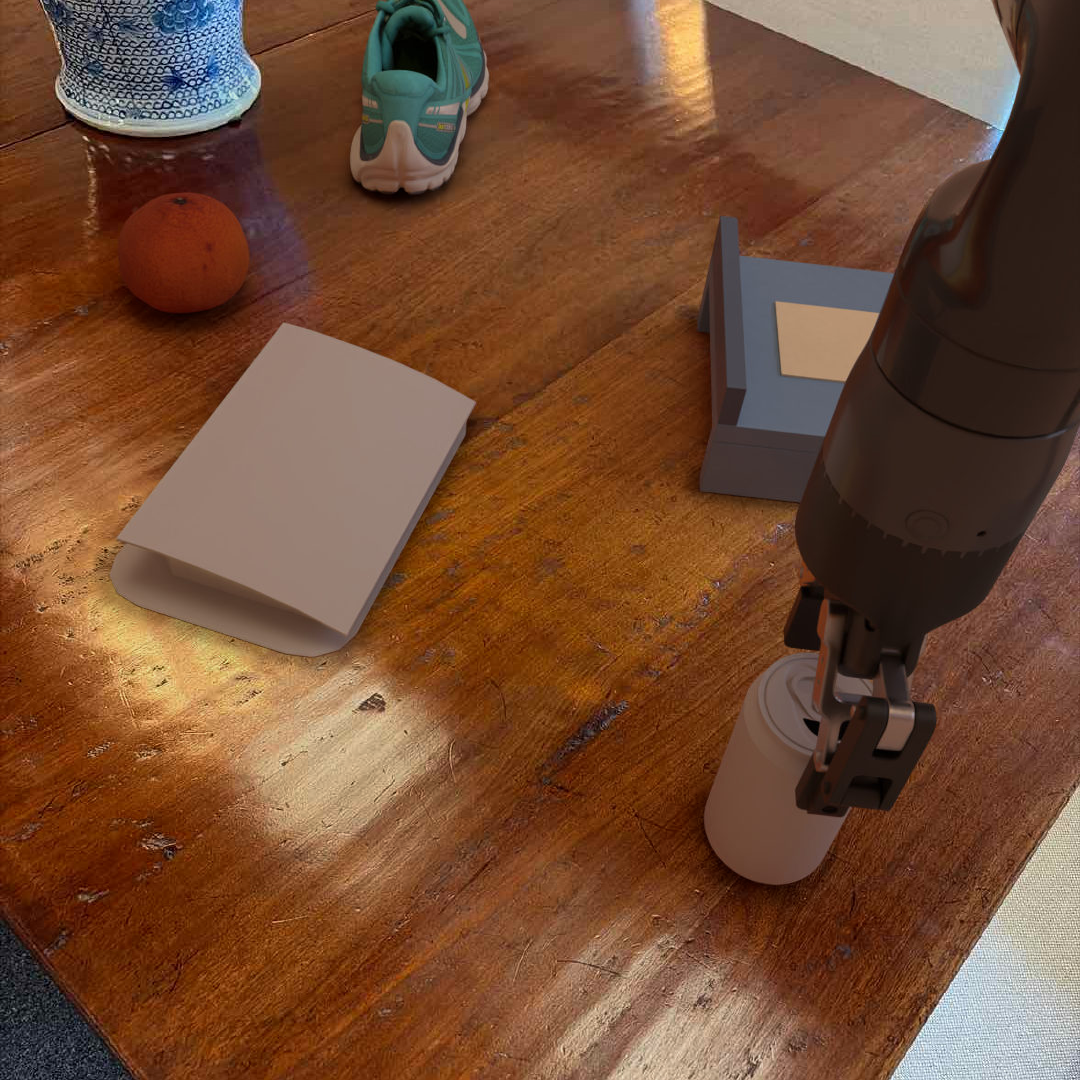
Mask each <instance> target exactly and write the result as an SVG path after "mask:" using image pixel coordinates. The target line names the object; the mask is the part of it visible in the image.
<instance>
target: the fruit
mask: <svg viewBox="0 0 1080 1080" xmlns="http://www.w3.org/2000/svg"><path fill="white" fill-rule="evenodd" d="M240 223H241V222H239V220H238V219H237V217H236V215H235V214H234V213H233V211H232V210H231V209H230V208H228V206H226V205H225V204H224V203H223V202H221V201H219V200H217V199H215V198H214V197H212V196H209V195H206V194H204V193H203V194H202V193H198V192H188V191H187V192H175V193H168V194H161V195H160V196H157V197H155V198H153V199H151V200H149V201H147V202H146V203H144V204H143V205H142V206H141V207H140V208H138V209H137V210H135V211H134V212H133V213H131V215H130V216H129V217H128V218H127V220H126V221H125V223H124V224H123V226H122V228H121V231H120V233H119V237H118V245H117V259H118V266H119V267H118V268H119V272H120V276H121V279H122V280H123V282H124V284H125V285H126V287H127V289H128V290H129V291H130V293H132V294H133V295H134V296H135V297H136V298H137V299H139V300H141V301H142V302H144V303H145V304H146V305H148V306H149V307H151V308H153V309H155V310H158V311H161V312H164V313H171V314H174V313H175V314H189V313H199V312H203V311H208V310H211V309H215V308H216V307H219V306H221V305H223V304H225V303H226V302H228V301H229V300H231V299H232V298H233V297H234V296H235V295H236V294H237V293H238V291H240V290H241V287H242V286H243V284H244V282H245V280H246V277H247V274H248V270H249V265H250V249H249V244H248V240H247V237H246V235H245V233H244V230H243V227H242V225H241V224H240Z"/></svg>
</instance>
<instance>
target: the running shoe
mask: <svg viewBox="0 0 1080 1080" xmlns="http://www.w3.org/2000/svg"><path fill="white" fill-rule="evenodd" d="M375 11H376V12H377V15H376V16H375V19H374V22H373V25H372V28H371V29H370V32H369V35H368V40H367V41H366V42H367V43H366V46H365V50H364V54H363V55H364V56H363V61H362V67H361V76H360V81H361V86H362V95H361V98H362V99H361V101H362V112H361V113H362V114H361V125H360V126H359V127H358V129H357V130H356V132H355V134H354V136H353V137H352V142H351V146H350V152H349V153H350V154H349V165H350V172H351V175H352V177H353V179H354V181H355V183H356V184H358V185H362V187H363V188H364V190H366V191H369V192H371V193H372V192H373V193H380V194H382V195H394V194H395V193H396V192H398V191H399V189H400V188H403V189H404V191H405V192H406V193H407V194H408V195H409V196H414V195H422V194H424V193H430V192H431V193H432V192H434V191H436V190H439V189H440V188H441V186H442V185H445V184H447V183H448V181H449V179H451V177H452V176H453V174H454V171H455V167H456V165H457V163H458V158H459V148H460V144H461V143H462V141H463V140H464V138H465V134H466V130H467V118H468V116H470V115H471V114H473V113H474V112H475V111H476V110H477V109H478V108H479V106H480V105H481V102H482V100H483V99H484V98H485V97H486V96H487V93H488V90H489V80H490V73H489V69H488V67H487V63H488V58H487V54H486V51H485V50H484V47H483V44H482V42H481V38H480V36H479V33H478V30H477V28H476V26H475V23H474V20H473V18H472V16H471V13H470V12H469V10H468V7H467V6H466V4H465V2H464V0H377V1H376V4H375Z"/></svg>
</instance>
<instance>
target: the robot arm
mask: <svg viewBox="0 0 1080 1080" xmlns="http://www.w3.org/2000/svg"><path fill="white" fill-rule="evenodd" d="M991 4H992V6H993V10H994V12H995V15H996V17H997V21H998V23H999V26H1000V28H1001V30H1002V33H1003V35H1004V37H1005V40H1006V42H1007V45H1008V48H1009V50H1010V53H1011V55H1012V58H1013V61H1014V63H1015V66H1016V68H1017V71H1018V74H1019V81H1018V84H1017V88H1016V89H1017V90H1016V93H1015V97H1014V101H1013V104H1012V107H1011V111H1010V113H1009V116H1008V120H1007V122H1006V124H1005V127H1004V129H1003V132H1002V134H1001V136H1000V139H999V141H998V143H997V145H996V148H995V149H994V151H993V153H992V156H991V157H990V158H988V159H984V160H981V161H978V162H975V163H971V164H969V165H967V166H965V167H963V168H961V169H959V170H957V171H956V172H954V173H952V174H951V175H949V176H948V177H947V178H946V179H945V180H944V181H943V182H942V183H940V185H938V186H937V187H936V188H935V189H934V191H933V193H932V194H931V196H929V198H928V200H927V201H926V202H925V204H924V206H923V207H922V209H921V210H920V211H919V214H918V216H917V218H916V220H915V222H914V224H913V226H912V228H911V230H910V232H909V234H908V237H907V239H906V242H905V244H904V246H903V249H902V252H901V254H900V255H899V259H898V263H897V266H896V268H895V270H894V272H893V273H894V276H893V278H892V281H891V284H890V286H889V289H888V292H887V294H886V297H885V300H884V302H883V305H882V308H881V310H880V313H879V316H878V318H877V321H876V324H875V326H874V328H873V330H872V333H871V335H870V337H869V339H868V341H867V343H866V345H865V347H864V348H863V350H862V352H861V353H860V355H859V357H858V358H857V360H856V362H855V364H854V365H853V367H852V369H851V371H850V373H849V375H848V377H847V380H846V382H845V384H844V387H843V389H842V391H841V394H840V397H839V399H838V402H837V405H836V408H835V410H834V413H833V416H832V418H831V421H830V424H829V427H828V429H827V432H826V435H825V437H824V440H823V443H822V446H821V448H820V451H819V454H818V457H817V459H816V462H815V465H814V467H813V470H812V473H811V475H810V478H809V481H808V483H807V486H806V489H805V491H804V494H803V497H802V500H801V502H800V503H799V505H798V508H797V511H796V515H795V520H794V521H795V522H794V534H795V541H796V547H797V548H798V552H799V554H800V558H801V559H802V561H801V563H800V566H799V567H798V569H797V578H798V583H799V586H800V587H799V589H798V592H797V594H796V597H795V598H794V601H793V604H792V607H791V609H790V612H789V614H788V616H787V619H786V622H785V623H784V627H783V630H782V633H783V644H784V645H785V646H786V647H787V648H790V649H796V650H805V651H813V652H818V653H819V658H818V664H817V670H816V676H815V682H814V687H813V693H812V701H813V704H814V705H815V707H816V708H817V710H818V711H819V713H820V714H821V721H820V727H819V733H818V738H817V744H816V749H815V750H814V752H813V754H812V756H811V758H810V760H809V762H808V764H807V766H806V768H805V770H804V772H803V774H802V776H801V778H800V780H799V782H798V784H797V786H796V788H795V798H796V806H797V807H798V808H799V809H801V810H807V814H814V815H823V816H831V817H840V818H841V817H843V816H845V814H846V812H847V811H848V809H849V807H852V808H858V809H865V810H874V811H881V812H882V811H883V812H890V811H891V810H892V809H893V807H894V805H895V804H896V802H897V800H898V799H899V796H900V794H901V793H902V792H903V789H904V788H905V786H906V784H907V782H908V780H909V779H910V776H911V775H912V773H913V771H914V769H915V767H916V766H917V764H918V762H919V760H920V759H921V757H922V756H923V753H924V751H925V749H926V748H927V746H928V744H929V742H930V740H931V739H932V737H933V736H934V732H935V731H936V727H937V723H938V718H937V711H936V710H937V709H936V707H935V705H934V704H933V703H931V702H921V701H912V698H911V693H912V688H913V681H914V677H915V671H916V668H917V665H918V662H919V658H921V657H922V656H923V655H924V654H925V651H926V648H927V644H928V638H929V633H931V632H933V631H934V630H937V629H939V628H941V627H942V626H944V625H947V624H950V623H951V622H954V621H956V620H959V619H960V618H962V617H964V616H966V615H968V614H969V613H972V612H973V611H974V610H975V609H977V608H978V607H979V606H980V605H981V604H982V603H983V602H984V601H985V600H986V598H987V597H988V595H989V594H990V592H992V589H993V588H994V586H995V584H996V583H997V581H998V579H999V577H1000V575H1001V574H1002V572H1003V570H1004V569H1005V567H1006V565H1007V564H1008V562H1009V560H1010V559H1011V557H1012V555H1013V553H1014V552H1015V550H1016V548H1017V547H1018V545H1020V542H1021V541H1022V539H1023V537H1024V536H1025V534H1026V532H1027V530H1028V528H1029V527H1030V525H1031V523H1032V522H1033V520H1034V519H1035V517H1036V515H1037V513H1038V511H1040V509H1041V506H1042V505H1043V503H1044V501H1045V500H1046V498H1047V497H1048V495H1049V493H1050V491H1051V490H1052V488H1053V486H1054V485H1055V483H1056V481H1057V479H1058V477H1059V476H1060V474H1061V472H1062V470H1063V468H1064V466H1065V465H1066V463H1067V461H1068V458H1069V455H1070V453H1071V451H1072V448H1073V446H1074V443H1075V440H1076V436H1077V434H1078V431H1079V429H1080V0H991ZM838 673H839V674H841V675H843V676H845V677H852V678H860V679H869V680H870V681H872V684H873V692H872V696H868V695H859V694H851V693H842V692H836V691H835V685H836V680H837V674H838ZM847 720H851V721H850V723H849V725H848V727H847V729H846V731H845V733H844V736H843V738H842V740H841V742H840V743H837V741H838V735H839V730H840V725H841V724H842V723H843V722H844V721H847Z"/></svg>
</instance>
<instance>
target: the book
mask: <svg viewBox="0 0 1080 1080" xmlns="http://www.w3.org/2000/svg"><path fill="white" fill-rule="evenodd" d="M476 404H477V401H475V400H474V399H471V398H470V397H468V396H467V395H465V394H463V393H461V392H459V391H457V390H456V389H454V388H452V387H450V386H449V385H446V384H445V383H443V382H441V381H440V380H437V379H436V378H433V377H431V376H429V375H427V374H424V373H423V372H421V371H418V370H416V369H414V368H411V367H409V366H407V365H405V364H403V363H401V362H398V361H396V360H394V359H391V358H389V357H385V356H384V355H381V354H380V353H379V354H378V353H375V352H373V351H371V350H368V349H366V348H363V347H360V346H357V345H355V344H353V343H349V342H346V341H344V340H341V339H338V338H337V337H336V338H335V337H333V336H330V335H326V334H324V333H321V332H318V331H315V330H313V329H309V328H306V327H301V326H298V325H294V324H292V323H288V322H282V324H280V326H279V328H278V329H277V330H276V331H275V333H274V334H273V335H272V337H270V339H269V340H268V342H267V343H266V344H265V345H264V347H263V348H262V349H261V351H260V352H259V353H258V355H257V356H256V357H255V359H254V360H252V362H251V364H250V365H249V366H248V367H247V369H246V370H245V372H244V373H243V374H242V375H241V376H240V378H239V379H238V381H236V383H235V384H234V385H233V387H231V389H230V391H229V392H228V393H227V394H226V396H225V397H224V399H222V401H221V402H220V403H219V405H218V406H217V408H216V409H215V410H214V411H213V413H212V414H211V415H210V417H209V418H208V419H207V420H206V421H205V423H204V424H203V426H202V427H201V428H200V430H199V431H198V432H197V433H196V435H195V436H194V437H193V438H192V439H191V441H190V442H189V443H188V445H187V446H186V448H185V449H184V450H183V451H182V452H181V454H180V455H179V457H178V458H177V459H176V460H175V462H174V463H173V464H172V465H171V467H170V468H169V470H168V471H167V472H166V473H165V474H164V476H163V477H162V479H161V480H160V481H159V482H158V483H157V485H156V486H155V488H154V489H153V490H152V491H151V493H150V494H149V495H148V496H147V498H146V499H145V500H144V502H143V503H142V504H141V505H140V507H139V508H138V509H137V510H136V512H135V513H134V515H132V517H131V518H130V520H128V522H127V523H126V525H125V526H124V528H122V530H121V531H120V532H119V534H118V535H117V536H116V538H115V540H116V541H117V542H120V543H123V544H124V545H123V546H122V548H121V549H120V550H119V552H118V553H117V554H116V556H115V557H114V560H113V564H112V566H111V569H110V571H109V575H108V577H109V578H110V580H111V583H112V585H113V587H114V590H115V591H116V593H117V595H119V596H121V597H122V598H124V599H126V600H127V601H129V602H130V603H132V604H134V605H136V606H137V607H140V608H143V609H146V610H149V611H152V612H155V613H159V614H161V615H163V616H164V615H165V616H168V617H171V618H174V619H177V620H180V621H183V622H186V623H189V624H192V625H195V626H199V627H201V628H203V629H208V630H211V631H213V632H217V633H220V634H222V635H226V636H229V637H232V638H235V639H239V640H241V641H245V642H247V643H251V644H254V645H257V646H260V647H263V648H266V649H269V650H273V651H275V652H279V653H282V654H284V655H292V656H299V657H300V656H301V657H309V658H317V657H319V656H323V655H326V654H327V655H328V654H330V653H333V652H338V651H340V650H341V649H342V648H344V647H345V646H346V645H347V644H348V643H349V642H350V641H351V640H352V639H353V638H354V637H356V635H357V634H358V632H359V630H360V628H361V627H362V624H363V623H364V622H365V619H366V617H367V615H368V613H369V612H370V610H371V608H372V606H373V604H374V603H375V601H376V599H377V598H378V595H379V593H380V592H381V590H382V588H383V586H384V584H385V582H386V580H387V579H388V578H389V575H390V573H391V572H392V570H393V568H394V566H395V564H396V563H397V561H398V559H399V557H400V555H401V554H402V552H403V550H404V547H405V546H406V544H407V543H408V540H409V539H410V537H411V535H412V533H413V531H414V529H415V528H416V526H417V525H418V522H419V520H420V519H421V517H422V516H423V513H424V511H425V510H426V507H427V506H428V505H429V502H430V501H431V498H432V497H433V495H434V493H435V492H436V490H437V487H438V486H439V485H440V482H441V481H442V479H443V477H444V475H445V474H446V471H447V470H448V468H449V466H450V464H451V462H452V460H453V459H454V456H455V455H456V453H457V451H458V450H459V448H460V445H461V444H462V442H463V440H464V438H465V437H466V433H467V422H468V421H467V420H468V419H469V417H470V416H471V414H472V412H473V410H474V408H475V406H476Z"/></svg>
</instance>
